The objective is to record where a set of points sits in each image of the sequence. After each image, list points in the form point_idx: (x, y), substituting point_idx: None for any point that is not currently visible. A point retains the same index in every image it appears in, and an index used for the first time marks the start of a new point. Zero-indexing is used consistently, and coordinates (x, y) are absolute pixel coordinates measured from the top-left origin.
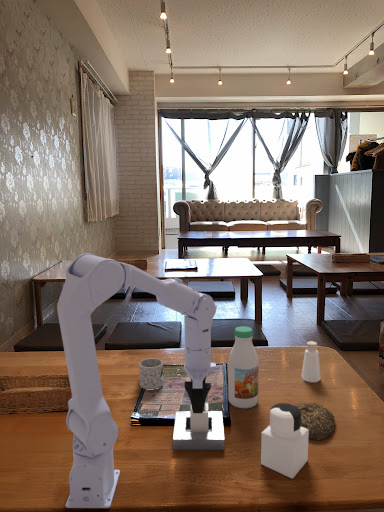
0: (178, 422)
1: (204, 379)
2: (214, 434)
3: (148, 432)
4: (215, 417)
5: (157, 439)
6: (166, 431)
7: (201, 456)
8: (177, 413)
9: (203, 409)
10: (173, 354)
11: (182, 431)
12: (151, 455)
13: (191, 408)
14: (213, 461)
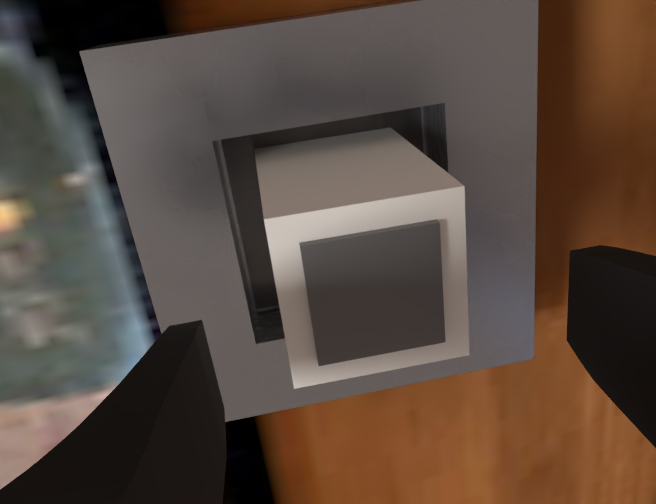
0: None
1: (160, 451)
2: (471, 80)
3: (347, 485)
4: (209, 104)
5: (407, 424)
6: (322, 402)
7: (561, 143)
8: None
9: (636, 254)
10: None
11: None
12: (546, 408)
13: (395, 360)
14: (612, 55)
